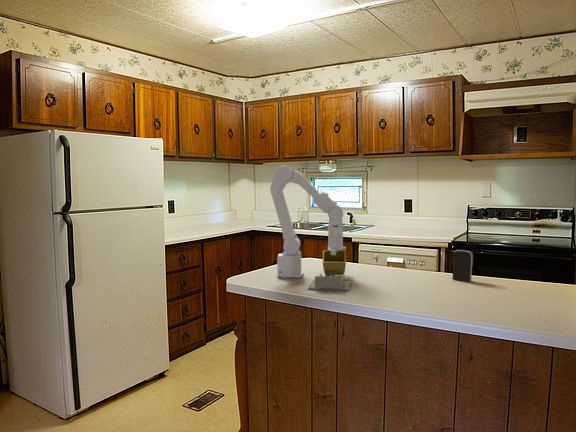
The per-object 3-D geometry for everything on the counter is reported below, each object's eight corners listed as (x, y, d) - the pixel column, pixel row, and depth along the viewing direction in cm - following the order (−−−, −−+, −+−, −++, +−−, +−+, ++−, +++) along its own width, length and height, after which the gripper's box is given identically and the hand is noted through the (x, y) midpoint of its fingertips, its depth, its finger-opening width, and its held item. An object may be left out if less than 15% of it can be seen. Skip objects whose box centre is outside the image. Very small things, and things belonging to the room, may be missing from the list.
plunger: (320, 286, 159) (320, 275, 159) (324, 280, 169) (324, 269, 169) (344, 287, 157) (344, 276, 157) (346, 281, 167) (346, 270, 167)
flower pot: (346, 282, 170) (346, 262, 166) (323, 282, 171) (322, 262, 167) (345, 269, 178) (345, 250, 174) (323, 269, 179) (323, 250, 175)
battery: (473, 280, 169) (474, 250, 168) (470, 282, 166) (471, 251, 165) (455, 277, 173) (455, 248, 172) (451, 279, 170) (452, 250, 169)
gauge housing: (307, 289, 157) (307, 276, 157) (313, 281, 169) (313, 269, 169) (347, 291, 154) (347, 278, 154) (350, 283, 166) (350, 270, 166)
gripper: (343, 238, 169) (343, 274, 170) (347, 234, 183) (347, 266, 185) (325, 238, 171) (325, 273, 172) (330, 233, 185) (330, 266, 186)
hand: (335, 270), depth 178 cm, fingers closed
